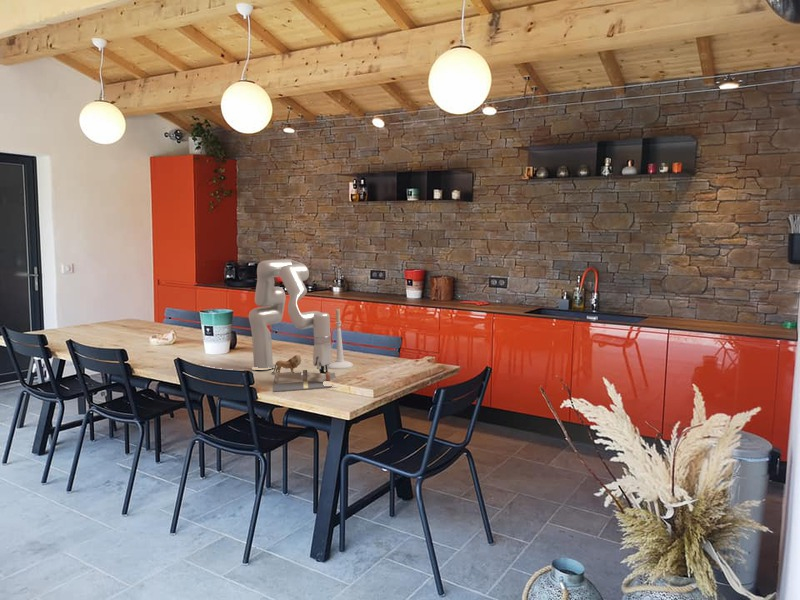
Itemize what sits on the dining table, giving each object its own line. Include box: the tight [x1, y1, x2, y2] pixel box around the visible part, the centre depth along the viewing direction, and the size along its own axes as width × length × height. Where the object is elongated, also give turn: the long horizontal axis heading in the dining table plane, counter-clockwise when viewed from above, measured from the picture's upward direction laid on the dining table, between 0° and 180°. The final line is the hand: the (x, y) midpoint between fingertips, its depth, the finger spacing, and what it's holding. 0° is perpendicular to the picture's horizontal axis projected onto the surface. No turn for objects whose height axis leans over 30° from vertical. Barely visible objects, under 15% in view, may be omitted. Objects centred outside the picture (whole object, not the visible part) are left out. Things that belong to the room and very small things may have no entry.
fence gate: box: [307, 371, 331, 382], centre depth 263 cm, size 12×2×4 cm, turn 63°
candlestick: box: [328, 308, 354, 370], centre depth 296 cm, size 13×13×30 cm
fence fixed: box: [273, 369, 308, 383], centre depth 265 cm, size 2×15×5 cm, turn 100°
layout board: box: [272, 372, 337, 393], centre depth 266 cm, size 26×28×1 cm
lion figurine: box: [271, 354, 302, 374], centre depth 285 cm, size 15×5×9 cm, turn 95°
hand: (324, 379), depth 265 cm, fingers closed
